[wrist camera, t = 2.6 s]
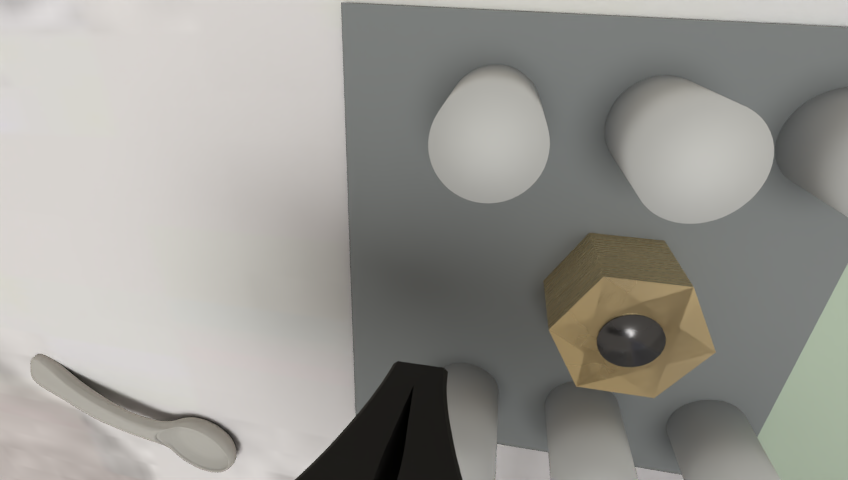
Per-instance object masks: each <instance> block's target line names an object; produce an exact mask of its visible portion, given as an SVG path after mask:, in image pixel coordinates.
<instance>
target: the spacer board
mask: <svg viewBox="0 0 848 480" xmlns="http://www.w3.org/2000/svg"><path fill="white" fill-rule="evenodd" d="M341 14H342V42H343V70H344V98H345V127H346V155H347V183H348V211H349V240H350V268H351V296H352V324H353V353H354V381H355V409H356V415H357V414H358V413H359V412H360V410H361V409H362V408H363V407H364V405H365V404H366V403H367V402H368V400H369V399H370V398H371V396H372V395H373V394H374V392H375V391H376V390H377V388H378V387H379V385H380V384H381V383H382V381H383V380H384V378H385V377H386V375H387V374H388V372H389V370H390V369H391V367H392V365H393V364H394V363H395V362H397V361H401V362H408V363H415V364H422V365H428V366H435V367H442V368H445V369H446V370H447V371H448V378H447V403H448V413H449V420H450V426H451V431H452V437H453V442H454V447H455V452H456V456H457V460H458V464H459V468H460V472H461V476H462V479H463V480H495V474H496V449H497V444H502V445H508V446H514V447H520V448H526V449H532V450H538V451H544V452H548V453H549V466H550V479H551V480H638V478H637V474H636V470H635V467H639V468H645V469H651V470H657V471H663V472H669V473H675V474H681V475H682V476H683V478H684V480H848V27H838V26H817V25H796V24H776V23H755V22H734V21H714V20H693V19H672V18H652V17H631V16H611V15H590V14H569V13H549V12H528V11H507V10H487V9H466V8H445V7H425V6H404V5H384V4H363V3H341ZM589 233H598V234H607V235H616V236H626V237H635V238H645V239H654V240H663V241H665V242H666V244H667V245H668V247H669V248H670V250H671V252H672V253H673V255H674V256H675V258H676V260H677V261H678V263H679V264H680V266H681V268H682V269H683V271H684V272H685V274H686V276H687V277H688V279H689V280H690V282H691V283H692V285H693V287H694V289H695V292H696V295H697V298H698V301H699V304H700V307H701V310H702V313H703V316H704V319H705V322H706V324H707V327H708V330H709V333H710V336H711V339H712V342H713V345H714V348H715V351H716V353H714V354H713V355H712V356H710V357H709V358H708V359H706V360H705V361H703V362H702V363H701V364H699V365H698V366H697V367H695V368H694V369H693V370H691V371H690V372H689V373H687V374H686V375H685V376H683V377H682V378H681V379H679V380H678V381H677V382H675V383H674V384H673V385H671V386H670V387H669V388H667V389H666V390H664V391H663V392H662V393H660V394H659V395H658V396H656V397H655V398H650V397H643V396H636V395H630V394H623V393H616V392H610V391H603V390H596V389H589V388H583V387H576V385H575V383H574V381H573V379H572V377H571V375H570V373H569V371H568V369H567V367H566V365H565V362H564V360H563V358H562V356H561V354H560V352H559V350H558V348H557V346H556V344H555V342H554V340H553V338H552V336H551V334H550V332H549V329H548V319H547V310H546V300H545V291H544V280H545V279H546V278H547V276H548V275H549V274H550V273H551V272H552V271H553V270H554V269H555V268H556V267H557V266H558V265H559V264H560V263H561V262H562V261H563V260H564V259H565V258H566V257H567V256H568V255H569V253H570V252H571V251H572V250H573V249H574V248H575V247H576V246H577V245H578V244H579V243H580V242H581V241H582V240H583V239H584V238H585V237H586V236H587V235H588V234H589Z"/></svg>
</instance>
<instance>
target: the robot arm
mask: <svg viewBox="0 0 848 480" xmlns="http://www.w3.org/2000/svg"><path fill="white" fill-rule="evenodd" d="M447 378H448V371H447V370H446V369H445V368H442V367H435V366H428V365H422V364H415V363H408V362H401V361H397V362H395V363H394V364H393V365H392V367H391V369H390V370H389V372H388V374H387V375H386V377H385V378H384V380H383V381H382V383H381V384H380V385H379V387H378V388H377V390H376V391H375V392H374V394H373V395H372V396H371V398H370V399H369V400H368V402H367V403H366V404H365V405H364V407H363V408H362V409H361V410H360V412H359V413H358V414H357V415H356V417H355V418H354V419H353V420H352V421H351V423H350V424H349V425H348V426H347V427H346V428H345V429H344V431H343V432H342V433H341V434H340V435H339V436H338V437H337V438H336V439H335V441H334V442H333V443H332V444H331V445H330V446H329V447H328V448H327V449H326V450H325V451H324V452H323V453H322V454H321V455H320V456H319V457H318V458H317V459H316V460H315V461H314V462H313V463H312V464H311V465H310V466H309V467H308V468H307V469H306V470H305V471H304V472H303V473H302V474H301V475H300V476H299V477H297V478H296V479H295V480H463V479H462V476H461V472H460V468H459V464H458V460H457V456H456V452H455V447H454V442H453V437H452V431H451V426H450V420H449V413H448V403H447Z"/></svg>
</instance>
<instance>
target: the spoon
mask: <svg viewBox="0 0 848 480" xmlns="http://www.w3.org/2000/svg"><path fill="white" fill-rule="evenodd" d="M30 365H31V376H32V378H33V379H34V381H35V382H36V383H37V384H39V385H40V386H41V387H43V388H45V389H46V390H48V391H49V392H51V393H53V394H55V395H56V396H58V397H60V398H61V399H63V400H65V401H67V402H68V403H70V404H71V405H73V406H75V407H76V408H78V409H79V410H81V411H83V412H84V413H86V414H88V415H90V416H91V417H93V418H95V419H97V420H99V421H101V422H103V423H106V424H108V425H110V426H113V427H115V428H117V429H120V430H122V431H125V432H128V433H130V434H133V435H136V436H139V437H141V438H144V439H147V440H150V441H153V442H156V443H159V444H162V445H165V446H167V447H169V448H170V449H171V450H172V451H174V452H175V453H176V454H177V455H178V456H179V457H180V458H182V459H183V460H184V461H186V462H188V463H189V464H191V465H193V466H195V467H197V468H199V469H202V470H205V471H209V472H223V471H225V470H227V469H229V468H230V467H231V466H232V465H233V464H234V462H235V460H236V447H235V444H234V442H233V440H232V439H231V437H230V436H229V435H228V434H227V433H226V432H225V431H224V430H223V429H222V428H220V427H219V426H217V425H216V424H214V423H212V422H210V421H207V420H205V419H201V418H196V417H186V418H181V419H177V420H173V421H158V420H154V419H150V418H146V417H143V416H140V415H137V414H135V413H132V412H130V411H127V410H126V409H124V408H122V407H120V406H118V405H116V404H115V403H113V402H111V401H110V400H108V399H106V398H105V397H103V396H102V395H100V394H99V393H97V392H96V391H94V390H93V389H91V388H90V387H88V386H87V385H86V384H84V383H83V382H81V381H80V380H79V379H78V378H76V377H75V376H74V375H73V374H71V373H70V372H69V371H68V370H67V369H65V368H64V367H63V366H62V365H61V364H60V363H58V362H56V361H55V360H53V359H51V358H49V357H47V356H45V355H43V354H38V355H36V356H35V357H34V358H33V359H32V360H31V363H30Z"/></svg>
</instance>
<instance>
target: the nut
mask: <svg viewBox="0 0 848 480" xmlns="http://www.w3.org/2000/svg"><path fill="white" fill-rule="evenodd" d="M544 291H545V300H546V310H547V319H548V329H549V332H550V334H551V336H552V338H553V340H554V342H555V344H556V346H557V348H558V350H559V352H560V354H561V356H562V358H563V360H564V362H565V365H566V367H567V369H568V371H569V373H570V375H571V377H572V379H573V381H574V383H575V385H576V387H583V388H589V389H596V390H603V391H610V392H616V393H623V394H630V395H636V396H643V397H650V398H655V397H656V396H658V395H659V394H660V393H662V392H663V391H664V390H666V389H667V388H669V387H670V386H671V385H673V384H674V383H675V382H677V381H678V380H679V379H681V378H682V377H683V376H685V375H686V374H687V373H689V372H690V371H691V370H693V369H694V368H695V367H697V366H698V365H699V364H701V363H702V362H703V361H705V360H706V359H708V358H709V357H710V356H712V355H713V354H714V353H716V351H715V348H714V345H713V342H712V339H711V336H710V333H709V330H708V327H707V324H706V322H705V319H704V316H703V313H702V310H701V307H700V304H699V301H698V298H697V295H696V292H695V289H694V287H693V285H692V283H691V282H690V280H689V279H688V277H687V276H686V274H685V272H684V271H683V269H682V268H681V266H680V264H679V263H678V261H677V260H676V258H675V256H674V255H673V253H672V252H671V250H670V248H669V247H668V245H667V244H666V242H665V241H663V240H654V239H645V238H635V237H626V236H616V235H607V234H598V233H589V234H588V235H587V236H586V237H585V238H584V239H583V240H582V241H581V242H580V243H579V244H578V245H577V246H576V247H575V248H574V249H573V250H572V251H571V252H570V253H569V255H568V256H567V257H566V258H565V259H564V260H563V261H562V262H561V263H560V264H559V265H558V266H557V267H556V268H555V269H554V270H553V271H552V272H551V273H550V274H549V275H548V276H547V278H546V279H545V280H544Z"/></svg>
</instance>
